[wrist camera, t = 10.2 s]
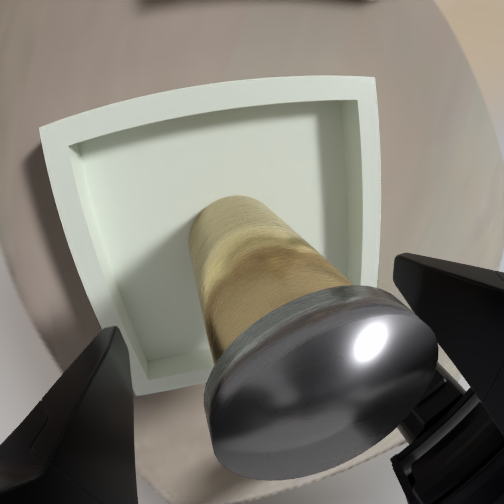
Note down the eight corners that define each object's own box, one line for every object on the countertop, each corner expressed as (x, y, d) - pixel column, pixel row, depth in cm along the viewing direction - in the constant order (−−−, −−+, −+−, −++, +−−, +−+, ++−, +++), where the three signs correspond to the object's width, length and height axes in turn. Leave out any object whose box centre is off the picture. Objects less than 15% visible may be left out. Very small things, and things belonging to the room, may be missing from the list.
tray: (354, 313, 18) (371, 332, 16) (137, 370, 16) (136, 396, 14) (349, 80, 13) (374, 77, 11) (56, 126, 10) (39, 127, 9)
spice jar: (303, 254, 15) (438, 399, 6) (215, 307, 15) (278, 495, 6) (258, 164, 13) (428, 258, 4) (157, 225, 13) (152, 422, 4)
